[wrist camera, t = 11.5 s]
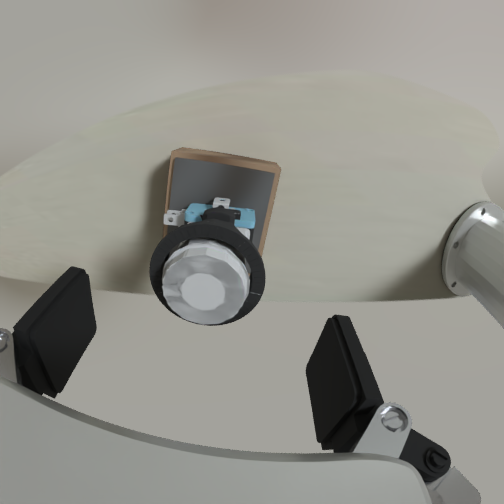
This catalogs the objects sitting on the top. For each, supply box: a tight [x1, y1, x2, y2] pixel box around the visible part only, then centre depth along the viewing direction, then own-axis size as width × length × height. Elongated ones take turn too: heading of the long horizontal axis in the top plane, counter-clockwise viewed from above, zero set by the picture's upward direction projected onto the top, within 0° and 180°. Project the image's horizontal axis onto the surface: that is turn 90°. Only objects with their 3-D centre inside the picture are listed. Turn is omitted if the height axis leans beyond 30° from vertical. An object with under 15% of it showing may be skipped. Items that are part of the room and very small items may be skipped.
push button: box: [150, 197, 265, 326], centre depth 16 cm, size 7×5×10 cm
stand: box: [163, 147, 281, 276], centre depth 22 cm, size 8×9×4 cm
